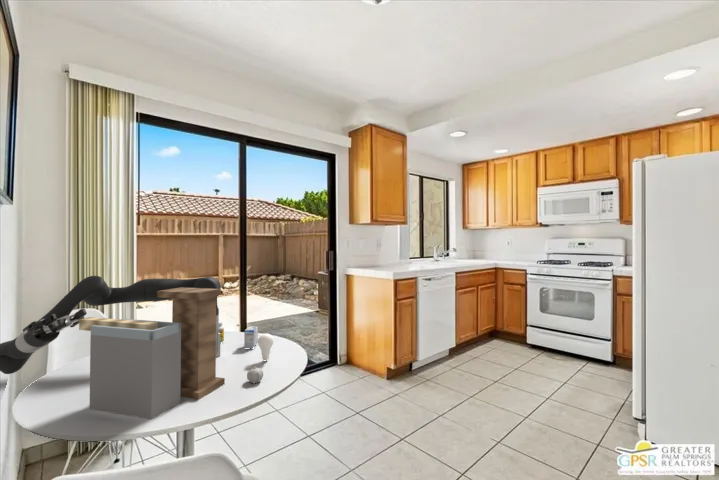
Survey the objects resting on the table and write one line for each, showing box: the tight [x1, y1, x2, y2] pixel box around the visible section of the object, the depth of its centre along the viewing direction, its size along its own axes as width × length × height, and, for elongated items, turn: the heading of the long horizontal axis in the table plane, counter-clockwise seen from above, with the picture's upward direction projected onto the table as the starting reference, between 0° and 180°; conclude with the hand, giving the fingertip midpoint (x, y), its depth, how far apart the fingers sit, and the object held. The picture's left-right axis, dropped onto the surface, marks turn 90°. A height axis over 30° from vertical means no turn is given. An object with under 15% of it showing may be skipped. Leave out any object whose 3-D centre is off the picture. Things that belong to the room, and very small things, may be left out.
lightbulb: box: [257, 333, 275, 361], centre depth 136 cm, size 6×6×11 cm
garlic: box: [246, 365, 264, 384], centre depth 116 cm, size 6×5×5 cm
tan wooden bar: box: [78, 316, 158, 332], centre depth 101 cm, size 26×3×3 cm, turn 75°
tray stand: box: [89, 318, 181, 420], centre depth 99 cm, size 22×10×24 cm, turn 75°
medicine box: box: [243, 325, 259, 349], centre depth 156 cm, size 8×4×9 cm, turn 5°
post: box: [157, 287, 226, 401], centre depth 111 cm, size 18×12×32 cm, turn 75°
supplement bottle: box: [219, 321, 225, 344], centre depth 163 cm, size 5×5×10 cm
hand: (70, 313), depth 106 cm, fingers open, 8 cm apart
